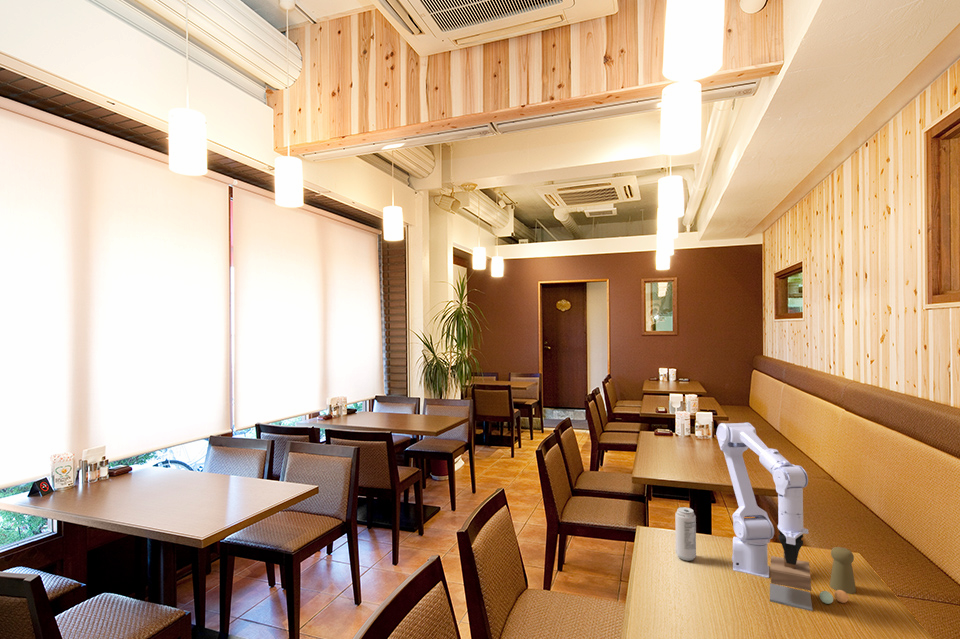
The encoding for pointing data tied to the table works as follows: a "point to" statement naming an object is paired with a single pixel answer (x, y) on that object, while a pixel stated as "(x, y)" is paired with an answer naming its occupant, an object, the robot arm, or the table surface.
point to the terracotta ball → (841, 596)
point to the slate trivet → (790, 597)
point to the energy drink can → (685, 533)
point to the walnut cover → (790, 573)
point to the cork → (842, 570)
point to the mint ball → (826, 597)
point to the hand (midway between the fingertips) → (791, 561)
